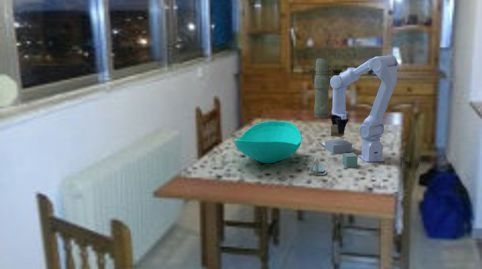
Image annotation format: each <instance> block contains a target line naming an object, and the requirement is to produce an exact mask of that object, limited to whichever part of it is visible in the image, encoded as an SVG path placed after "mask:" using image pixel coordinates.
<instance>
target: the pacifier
mask: <svg viewBox="0 0 482 269" xmlns="http://www.w3.org/2000/svg"><path fill="white" fill-rule="evenodd" d="M319 162H320V161H319V158H318V157H315V158H314V160H313V164H314V166H313V168H312V170H310V172H311V173H313V174H314V175H317V176H325V175H326V174H328V170H326V169H325V167H324V166H323V165H320V163H319Z"/></svg>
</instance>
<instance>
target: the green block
mask: <svg viewBox="0 0 482 269" xmlns="http://www.w3.org/2000/svg"><path fill="white" fill-rule="evenodd" d="M358 158H359V155H357V154H355V153H354V152H345V153H342V165H343V166H344V167H346V168H355V167H358Z"/></svg>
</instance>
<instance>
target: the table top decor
mask: <svg viewBox="0 0 482 269" xmlns="http://www.w3.org/2000/svg"><path fill="white" fill-rule="evenodd" d="M302 140H303V139H302V134H301V131H300V129H299V128H298V127H297V126H296V125H295V124H294V123H292V122H288V121H285V120H283V121H282V120H281V121H280V120H268V121H262V122H259V123H256V124H254V125H252V126H251V127H250V128H248V129H247V130H245V132H244V133H243V134H242V135H241V136H239V137H238V138H236V139H235V140H234V141H233V142H234V146H235V147H236V149H237V150H238V151H239V152H241V153H242V154H243V155H244V156H246V157H249V158H251V159H253V160H255V161H258V162H259V163H264V164H272V163H276V162H281V161H283V160H285V159H287V158H290V157H291V156H292V155H293V154H295V153H296V152H297V151H298V149H299V148H300V147H301V144H302V143H301V142H302Z"/></svg>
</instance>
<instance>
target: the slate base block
mask: <svg viewBox="0 0 482 269" xmlns="http://www.w3.org/2000/svg"><path fill="white" fill-rule="evenodd" d="M324 142H325V147H324V149H325V150H327V151H329V152H330V153H331V154H341V153H342V154H344V153H353V143H351V142H350V141H348V140H345V139H343V138H341V139H340V138H339V139H330V140H324Z"/></svg>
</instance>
